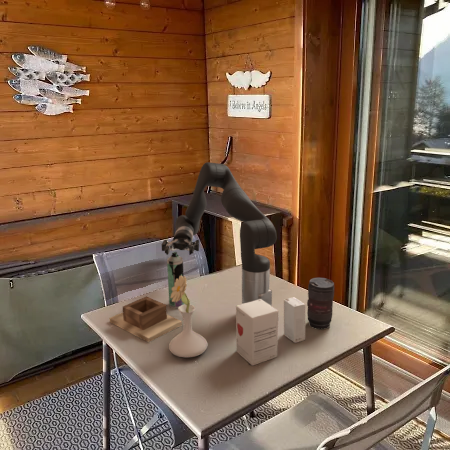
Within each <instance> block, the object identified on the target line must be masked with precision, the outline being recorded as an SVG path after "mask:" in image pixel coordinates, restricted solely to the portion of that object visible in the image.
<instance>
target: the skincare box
mask: <svg viewBox="0 0 450 450" xmlns="http://www.w3.org/2000/svg"><path fill="white" fill-rule="evenodd" d="M283 335H284V336H285V337H287V338H288V339H289V340H290V341H292V343H294V344H295V343H299V341H300V342H302V341H305V340H306V304H305V303H304V302H303V301H301V300H300V299H298V298H296V297H295V296H293V297H288V298H286V299H285V298H284V299H283Z"/></svg>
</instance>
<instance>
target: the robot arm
mask: <svg viewBox="0 0 450 450" xmlns="http://www.w3.org/2000/svg"><path fill="white" fill-rule="evenodd" d="M207 187H213V188H220V189H222V190H223V191H222V192H221V196H220V202H221V204H222V206H223V208H224V210H225V211H226V212H227V213H228V215H230V216H231V217H232V218H234V219H236V220H238V221H239V222H242V223H241V225H240V227H239V243H240V244H239V245H240V260H241V304H244V303H248V302H252V301H255V300H259V299H262V300H263V301H265V302H266V303H268V304H270V305H271V306H272V307H273V290H272V289H270V287H271V285H270V284H271V283H270V282H271V280H270V276H271V275H270V274H271V261H270V259H269V258H268V257H267V256H265V255H261V254H258V253H257V254H256V252H255V250H259V249H265V248H271V247H272V246H274V245H275V244H276V242H277V239H278V237H277V230H276V227H275V226H274V224H273V222H272V221H271V220H270V219H269V218H268V217H267V216H266V215H265V214H264V213H263V211H261V210H260V209H259V208H258V207H257V206H256V205H255V204H254V202H252V200H251V198H250V197H249V196H248V194H247V193H246V192H245V191H244V190H243V188H242V187H241V186H240V184H239V183H238V181H237V180H236V178H235V177H234V175H233V173H232V171H231V169H230V168H229V166H227V165H226V164H223V163H218V162H217V163H216V162H208V161H207V162H204V163H203V165H202V166H201V168H200V170H199V173H198V177H197V179H196V182H195V187H194V190H193V194H192V197H191V198H190V199H191V200H190V202H189V203H188V206H187V208H186V209H185V214H182V215H179V216H178V217H177V218H176V220H175V225H174V227H175V233H174V235H173V239H172V240H171V241H168V240H167V239H164V240H163V241H162V243H161V252H164V254H165V255H167V256H168V255H169V254H170V252H175V251H177V250H179V251H188V254H189V256H192V254H194V252H199V251H200V240H199V239H196V240H195V241H193V240H194V236H195V235H197V234H198V233H199V230H200V224H201V218H202V216H203V214H204V213H205V210H206V208H207V205H208V203H207V202H208V201H207V197H206V194H205V189H206V188H207Z"/></svg>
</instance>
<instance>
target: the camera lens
mask: <svg viewBox="0 0 450 450" xmlns="http://www.w3.org/2000/svg"><path fill="white" fill-rule="evenodd" d="M307 290H308V291H307V297H308V299H307V302H306V303H307V304H306V307H307V310H306V311H307V312H306V313H307V321H308V325H309V326H310V327H311V328H312V327H313V329H315V328H316V330H326V329H328V328H329V327H330V326H331V322H332V318H333V307H334V305H333V304H334V298H335V282H333V280H331V279H328V278H325V277H313V278H311V279H310V280H309V283H308V289H307Z"/></svg>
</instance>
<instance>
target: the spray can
mask: <svg viewBox="0 0 450 450" xmlns="http://www.w3.org/2000/svg"><path fill="white" fill-rule="evenodd" d="M183 259H184V258H183V257H182V256H180V255H179V254H178V252H177V251H172V253H171V255H170V256H169V257H168V258H167V259H166V266H167V269H166V270H167V285H168V287H167V288H168V306H169V307H170V308H171V309H175V310H176V309H177V310H178V308H179V307H180V306H181V305H185V304H184V303H183V302H182V300H181V299H180V300H179V301H177V302H176V301H175V302H172V299H173V298H170V297H171V293H172V292H173V291H172V287H174V285H175V282H176V279H178V280H179V276H181V275H182V276H183V277H184V276H185V275H184V260H183Z"/></svg>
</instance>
